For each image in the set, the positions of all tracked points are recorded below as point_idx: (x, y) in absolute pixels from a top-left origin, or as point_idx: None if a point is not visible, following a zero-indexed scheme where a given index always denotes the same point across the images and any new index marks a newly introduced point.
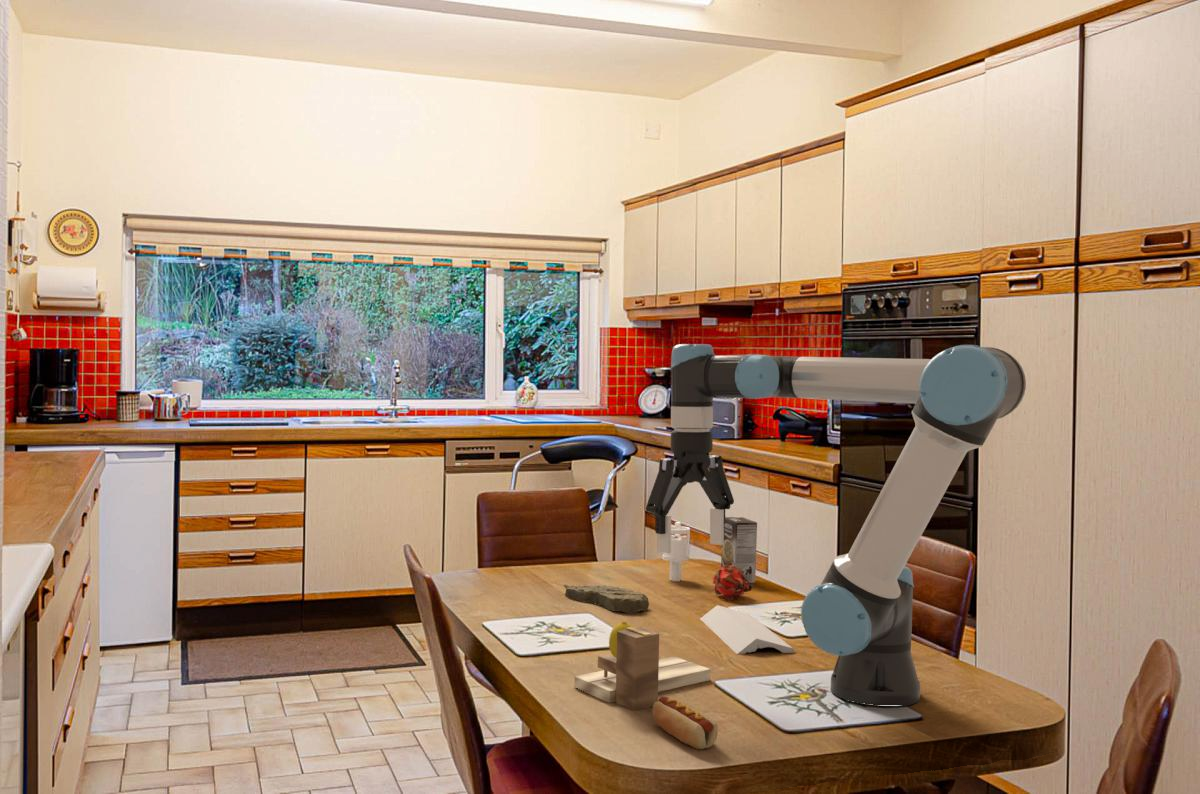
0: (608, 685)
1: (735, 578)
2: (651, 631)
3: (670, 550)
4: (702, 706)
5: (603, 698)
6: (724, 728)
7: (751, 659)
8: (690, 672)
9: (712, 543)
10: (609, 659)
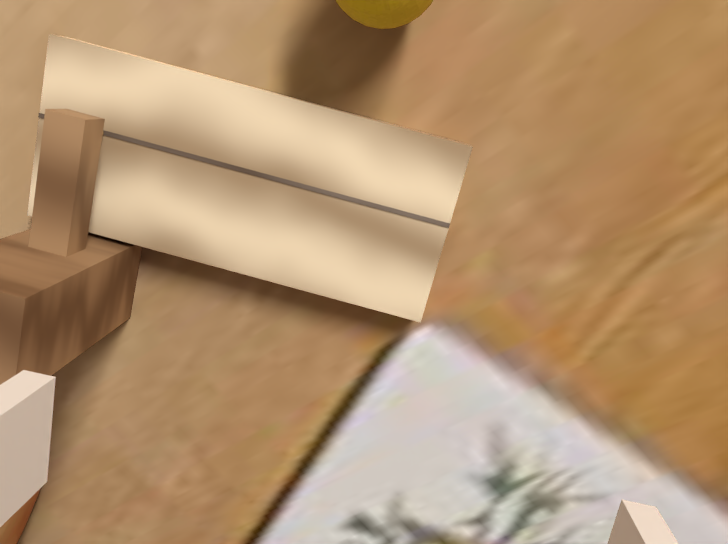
0: None
1: None
2: (13, 365)
3: (32, 491)
4: (206, 409)
5: None
6: (116, 519)
7: (721, 297)
8: (345, 294)
9: (616, 526)
10: (44, 167)
